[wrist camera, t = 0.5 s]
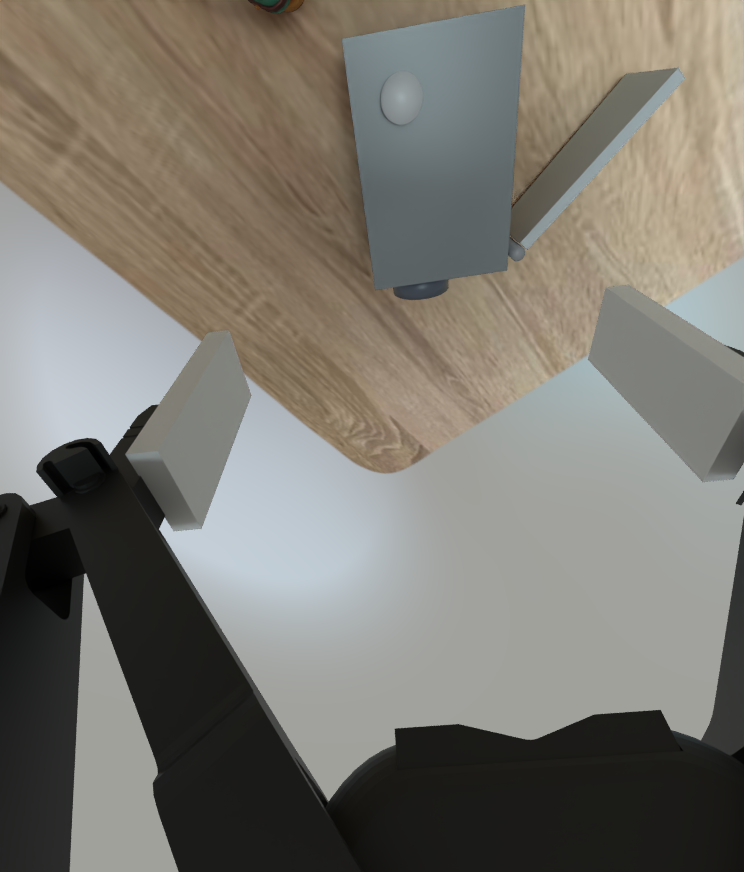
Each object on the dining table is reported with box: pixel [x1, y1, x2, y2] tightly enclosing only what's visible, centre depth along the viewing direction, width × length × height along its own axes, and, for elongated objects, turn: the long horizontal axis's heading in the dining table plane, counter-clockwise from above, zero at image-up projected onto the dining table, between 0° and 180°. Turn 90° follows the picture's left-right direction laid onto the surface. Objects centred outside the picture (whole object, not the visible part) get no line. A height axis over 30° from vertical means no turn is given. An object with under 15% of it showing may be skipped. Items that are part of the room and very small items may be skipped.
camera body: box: [342, 5, 525, 300], centre depth 30 cm, size 16×10×8 cm, turn 8°
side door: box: [508, 68, 685, 261], centre depth 30 cm, size 13×2×7 cm, turn 143°
